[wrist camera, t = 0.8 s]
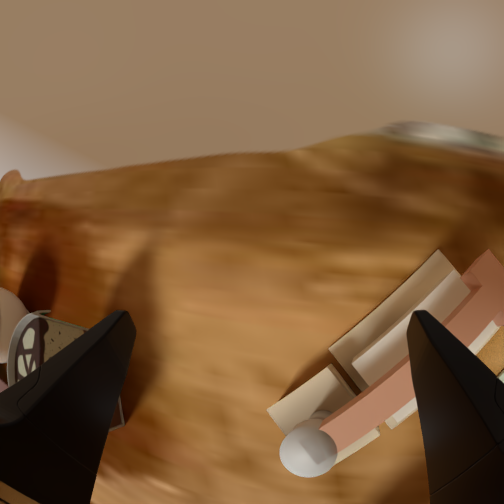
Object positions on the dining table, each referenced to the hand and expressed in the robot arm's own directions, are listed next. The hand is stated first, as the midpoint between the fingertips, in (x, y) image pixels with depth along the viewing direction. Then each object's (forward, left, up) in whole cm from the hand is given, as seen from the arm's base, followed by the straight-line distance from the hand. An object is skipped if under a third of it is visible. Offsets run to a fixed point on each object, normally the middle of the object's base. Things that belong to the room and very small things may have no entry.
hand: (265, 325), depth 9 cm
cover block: (-5, -5, -14) cm, 16 cm away
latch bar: (-5, -2, -7) cm, 9 cm away
